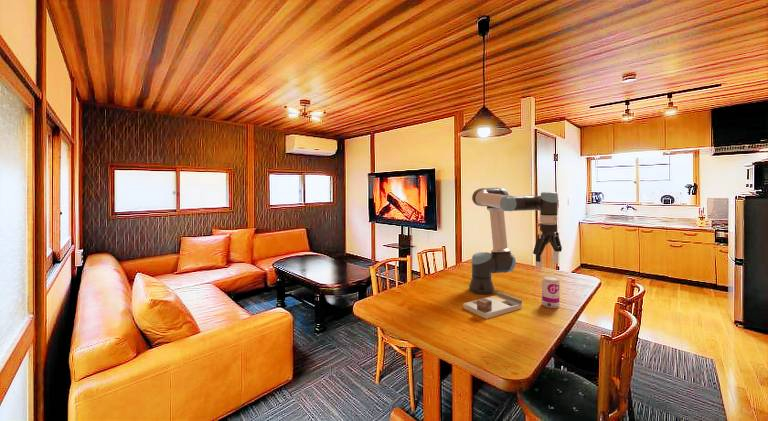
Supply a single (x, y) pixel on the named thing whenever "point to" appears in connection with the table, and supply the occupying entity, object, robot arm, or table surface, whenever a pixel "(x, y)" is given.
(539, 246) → the robot arm
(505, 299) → the box
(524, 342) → the table surface
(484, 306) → the block
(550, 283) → the soda can
